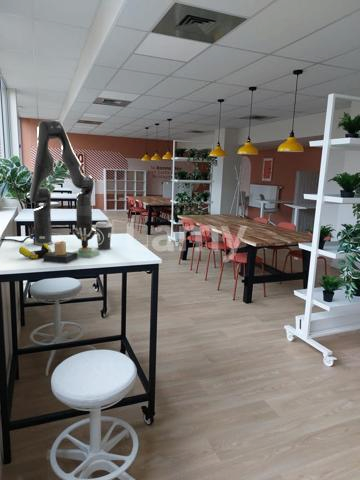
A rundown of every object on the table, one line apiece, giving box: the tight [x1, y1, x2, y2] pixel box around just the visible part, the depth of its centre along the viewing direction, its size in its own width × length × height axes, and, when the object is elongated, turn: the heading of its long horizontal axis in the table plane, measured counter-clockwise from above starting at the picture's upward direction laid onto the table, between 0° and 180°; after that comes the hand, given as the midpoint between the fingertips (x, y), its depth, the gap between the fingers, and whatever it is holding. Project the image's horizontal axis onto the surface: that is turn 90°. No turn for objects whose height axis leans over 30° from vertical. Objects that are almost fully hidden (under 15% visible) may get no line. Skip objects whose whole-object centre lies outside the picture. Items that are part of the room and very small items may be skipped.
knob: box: [53, 240, 67, 255], centre depth 164 cm, size 5×5×6 cm
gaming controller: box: [18, 243, 52, 260], centre depth 170 cm, size 15×6×10 cm
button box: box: [72, 247, 100, 259], centre depth 176 cm, size 11×9×4 cm
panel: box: [42, 250, 78, 264], centre depth 165 cm, size 12×10×3 cm
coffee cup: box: [94, 221, 113, 251], centre depth 192 cm, size 10×10×15 cm
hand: (84, 247), depth 175 cm, fingers closed
